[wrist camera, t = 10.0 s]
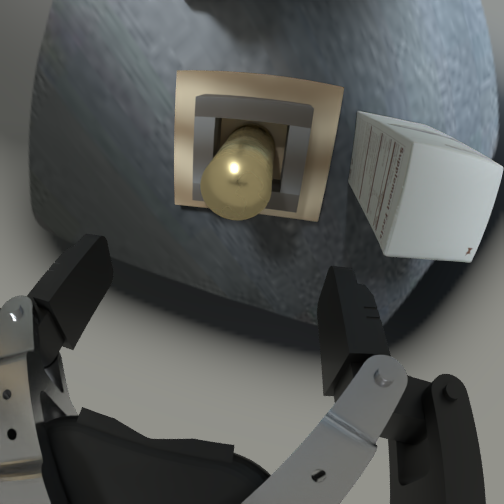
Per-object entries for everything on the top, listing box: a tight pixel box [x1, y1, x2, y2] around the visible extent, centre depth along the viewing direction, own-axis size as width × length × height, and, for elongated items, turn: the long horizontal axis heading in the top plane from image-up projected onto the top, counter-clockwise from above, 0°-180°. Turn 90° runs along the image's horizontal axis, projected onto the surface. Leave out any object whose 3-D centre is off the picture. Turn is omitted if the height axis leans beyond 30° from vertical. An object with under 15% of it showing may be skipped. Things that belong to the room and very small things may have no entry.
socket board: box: [174, 71, 344, 222], centre depth 24 cm, size 13×14×4 cm
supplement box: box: [348, 111, 503, 262], centre depth 19 cm, size 7×7×13 cm
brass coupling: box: [200, 123, 275, 220], centre depth 20 cm, size 4×4×10 cm
